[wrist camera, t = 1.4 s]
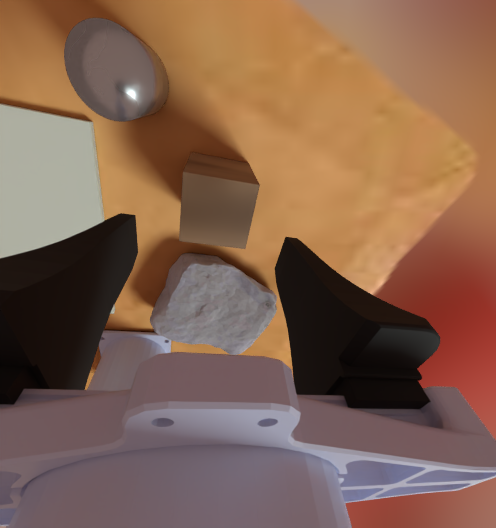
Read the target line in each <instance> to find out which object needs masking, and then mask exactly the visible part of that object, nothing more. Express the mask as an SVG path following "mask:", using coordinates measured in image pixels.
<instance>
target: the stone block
mask: <svg viewBox="0 0 496 528" xmlns="http://www.w3.org/2000/svg"><path fill="white" fill-rule="evenodd" d="M276 299H277V297H276V295H275V294H274V292H273V291H272V290H269V289H268V288H266V287H265V286H263V285H261V284H259V283H258V282H256V281H255V280H254V279H252V278H251V277H249V276H247V275H246V274H245V273H244V272H242V271H241V270H239V269H237V268H236V267H235V266H233V265H231V264H227V263H226V262H224V261H223V260H222V259H221V258H219V257H217V256H210V255H203V254H195V253H184V254H182V255H181V256H180V257H179V258H178V260H177V261H176V262H175V263H174V264H173V265H172V267H171V268H170V269H169V273H168V277H167V279H166V286H165V288H164V289H163V291H162V292H161V294H160V296H159V298H158V300H157V302H156V303H155V307H154V308H153V311H152V315H151V317H150V322H151V325H152V326H153V328H154V331H155V332H156V333H157V334H158V335H161V336H163V337H165V338H167V339H168V340H172V341H176V342H182V343H188V344H209V345H212V346H214V347H218V348H221V349H223V350H224V351H226V352H227V353H229V354H231V355H237V354H240V353H242V352H244V351H245V350H246V349H247V348H249V347H250V346H251V345H252V344H253V343H254V341H255V340H256V339H257V338H258V337H259V336H260V334H261V333H262V332H263V331H264V330H265V329H266V328H267V326H268V325H269V323H270V321H271V320H272V318H273V317H274V315H275V313H276V310H277V308H276V304H275V303H276Z"/></svg>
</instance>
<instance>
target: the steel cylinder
mask: <svg viewBox="0 0 496 528" xmlns="http://www.w3.org/2000/svg"><path fill="white" fill-rule="evenodd" d="M64 59H65V66H66V71H67V74H68V77H69V79H70V82H71V84H72V86H73V88H74V89H75V91H76V93H77V94H78V96H79V97H80V98H81V99H82V101H83V102H84V103H85V104H86V105H87V106H88V107H89V108H91V109H92V110H93V111H94V112H96V113H97V114H99V115H101V116H103V117H105V118H107V119H110V120H114V121H130V120H134V119H137V118H141V117H144V116H148V115H151V114H154V113H156V112H157V111H159V110H160V109H161V108H162V107H163V105H164V104H165V102H166V100H167V97H168V93H169V80H168V75H167V72H166V69H165V67H164V64H163V63H162V61H161V59H160V58H159V56H158V55H157V54H156V53H155V52H154V51H153V50H152V49H151V48H150V47H149V46H147V45H146V44H145V43H143V42H142V41H141V40H139V39H138V38H137V37H135V36H134V35H133V34H131V33H130V32H129V31H127V30H126V29H125V28H123V27H122V26H120V25H119V24H117V23H115V22H113V21H110V20H107V19H103V18H90V19H86V20H83V21H81V22H80V23H78V24H77V25H76V26H75V27H73V29H72V30H71V31H70V33H69V35H68V37H67V40H66V43H65V50H64Z"/></svg>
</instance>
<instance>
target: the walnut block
mask: <svg viewBox="0 0 496 528" xmlns="http://www.w3.org/2000/svg"><path fill="white" fill-rule="evenodd" d="M259 186H260V185H259V183H258V181H257V179H256V177H255V175H254V173H253V171H252V169H251V167H250V165H249V163H246V162H241V161H235V160H230V159H225V158H220V157H214V156H209V155H204V154H199V153H194V152H191V154H190V156H189V159H188V161H187V164H186V166H185V168H184V171H183V182H182V199H181V216H180V234H179V241H183V242H191V243H200V244H208V245H216V246H225V247H233V248H241V249H245V248H246V244H247V239H248V235H249V230H250V226H251V221H252V217H253V213H254V208H255V204H256V199H257V195H258V190H259Z"/></svg>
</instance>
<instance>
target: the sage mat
mask: <svg viewBox="0 0 496 528" xmlns="http://www.w3.org/2000/svg"><path fill="white" fill-rule="evenodd" d="M103 221H105V220H104V212H103V204H102V195H101V187H100V178H99V170H98V162H97V153H96V145H95V136H94V128H93V122H92V121H87V120H82V119H77V118H72V117H67V116H62V115H57V114H52V113H47V112H42V111H37V110H32V109H27V108H22V107H17V106H11V105H6V104H1V103H0V258H4V257H8V256H12V255H15V254H19V253H23V252H27V251H31V250H34V249H38V248H41V247H44V246H47V245H50V244H53V243H56V242H59V241H61V240H64V239H67V238H69V237H71V236H73V235H76V234H78V233H80V232H83V231H85V230H87V229H89V228H91V227H93V226H95V225H97V224H99V223H101V222H103ZM114 312H115V304H114V306H113V308H112V310H111V313H113V314H114Z"/></svg>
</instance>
